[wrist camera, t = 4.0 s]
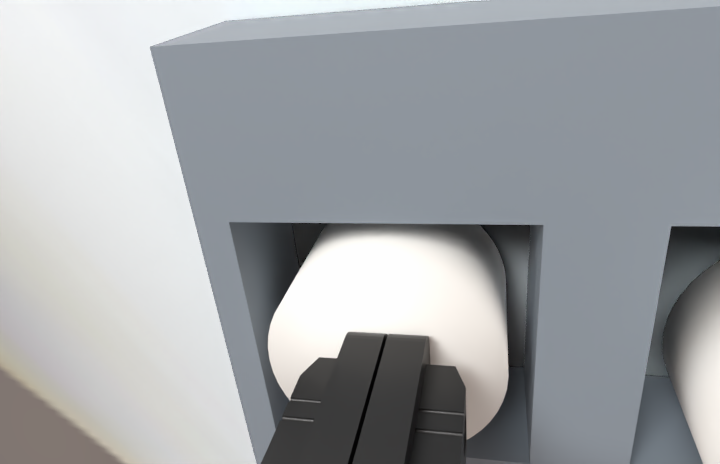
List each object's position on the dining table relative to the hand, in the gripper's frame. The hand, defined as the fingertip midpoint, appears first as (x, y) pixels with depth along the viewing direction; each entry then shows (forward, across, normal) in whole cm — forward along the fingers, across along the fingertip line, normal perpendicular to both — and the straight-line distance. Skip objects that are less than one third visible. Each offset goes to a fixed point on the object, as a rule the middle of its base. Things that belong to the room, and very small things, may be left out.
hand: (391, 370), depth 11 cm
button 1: (+3, 0, 0) cm, 3 cm away
